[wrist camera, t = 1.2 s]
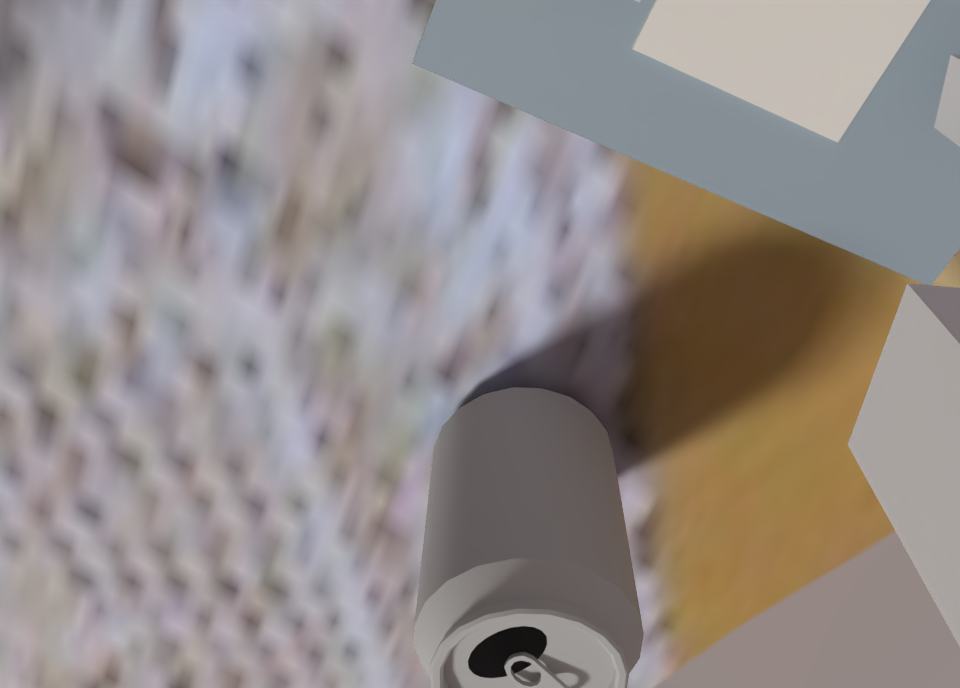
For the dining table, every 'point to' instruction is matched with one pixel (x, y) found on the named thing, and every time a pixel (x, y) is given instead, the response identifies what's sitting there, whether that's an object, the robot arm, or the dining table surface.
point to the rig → (746, 102)
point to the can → (526, 550)
